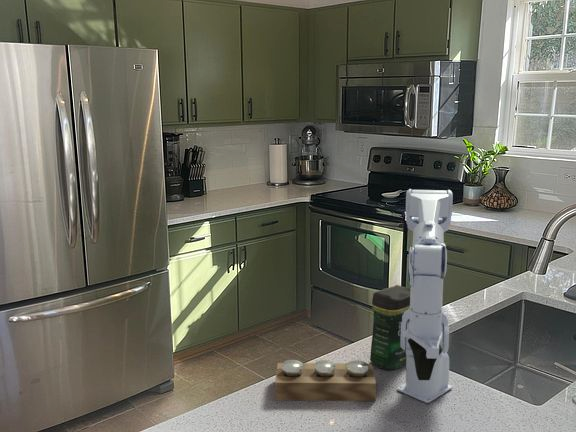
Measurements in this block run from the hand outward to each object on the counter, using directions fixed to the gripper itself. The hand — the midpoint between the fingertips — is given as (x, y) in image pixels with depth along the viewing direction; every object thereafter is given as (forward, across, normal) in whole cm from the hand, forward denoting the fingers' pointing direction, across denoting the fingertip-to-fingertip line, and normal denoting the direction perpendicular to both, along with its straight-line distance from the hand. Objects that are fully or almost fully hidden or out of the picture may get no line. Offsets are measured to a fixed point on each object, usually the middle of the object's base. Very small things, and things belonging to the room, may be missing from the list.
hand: (423, 378), depth 105 cm
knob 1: (+10, -15, -25) cm, 31 cm away
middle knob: (+10, -15, -18) cm, 25 cm away
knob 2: (+10, -15, -11) cm, 21 cm away
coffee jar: (+10, -28, -2) cm, 30 cm away
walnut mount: (+10, -15, -18) cm, 25 cm away
